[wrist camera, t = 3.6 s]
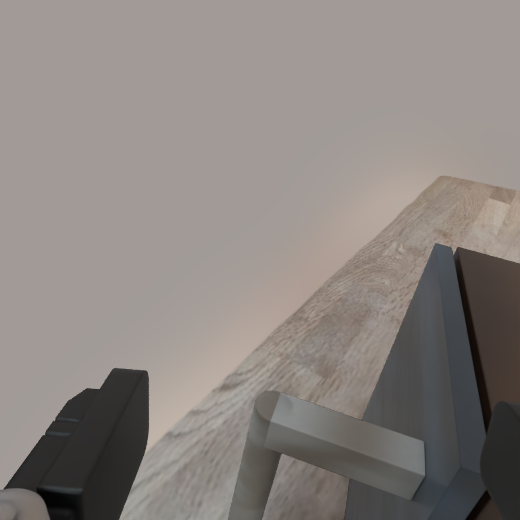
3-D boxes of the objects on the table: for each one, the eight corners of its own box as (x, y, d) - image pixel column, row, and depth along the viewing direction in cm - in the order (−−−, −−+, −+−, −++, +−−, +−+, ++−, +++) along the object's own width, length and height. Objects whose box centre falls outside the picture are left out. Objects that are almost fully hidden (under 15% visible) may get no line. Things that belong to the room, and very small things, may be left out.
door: (196, 629, 24) (247, 393, 15) (274, 406, 37) (325, 212, 28) (342, 694, 22) (494, 478, 14) (367, 439, 36) (452, 247, 27)
